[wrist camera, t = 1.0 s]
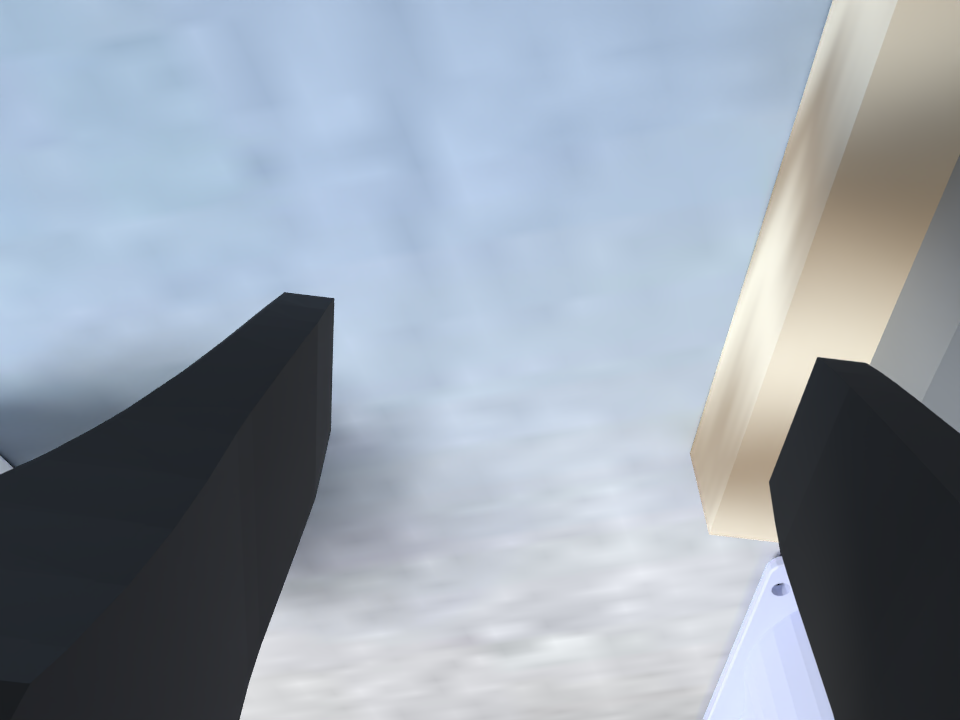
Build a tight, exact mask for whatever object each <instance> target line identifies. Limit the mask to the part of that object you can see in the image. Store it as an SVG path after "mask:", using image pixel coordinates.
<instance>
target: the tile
mask: <svg viewBox="0 0 960 720" xmlns="http://www.w3.org/2000/svg"><path fill="white" fill-rule="evenodd" d="M870 366H872V367H874V368H875V369H877V370H878V371H880V372H881V373H883V374H884V375H886V376H887V377H888V378H890V379H891V380H892V381H894V382H895V383H897V384H898V385H899V386H900V387H902V388H903V389H904V390H906V391H907V392H908V393H910V394H911V395H912V396H913V397H915V398H916V399H917V400H919V401H920V402H921V403H922V404H924V405H925V406H926V407H927V408H929V409H930V410H931V411H932V412H934V413H935V414H936V415H937V416H939V417H940V418H941V419H942V420H944V421H945V422H946V423H948V424H949V425H950V426H951V427H953V428H954V429H955V430H956V431H958V432H959V433H960V155H959V157H958V160H957V162H956V164H955V167H954V169H953V171H952V174H951V176H950V178H949V181H948V183H947V185H946V188H945V190H944V192H943V195H942V197H941V199H940V202H939V204H938V206H937V209H936V211H935V213H934V216H933V218H932V220H931V223H930V225H929V227H928V230H927V232H926V234H925V237H924V239H923V241H922V244H921V246H920V248H919V251H918V253H917V255H916V258H915V260H914V262H913V265H912V267H911V269H910V272H909V274H908V276H907V279H906V281H905V283H904V286H903V288H902V290H901V293H900V295H899V297H898V300H897V302H896V304H895V307H894V309H893V311H892V314H891V316H890V318H889V321H888V323H887V325H886V328H885V330H884V332H883V335H882V337H881V339H880V342H879V344H878V346H877V349H876V351H875V353H874V356H873V358H872V360H871V363H870Z"/></svg>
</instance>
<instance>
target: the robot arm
mask: <svg viewBox="0 0 960 720" xmlns="http://www.w3.org/2000/svg"><path fill="white" fill-rule="evenodd" d="M333 326H334V298H327V297H319V296H310V295H302V294H294V293H286V292H284V293H283V294H282V295H280V296H279V297H278V298H277V299H275V300H274V301H273V302H271V303H270V304H269V305H267V306H266V307H265V308H263V309H262V310H261V311H260V312H258V313H257V314H256V315H255V316H253V317H252V318H251V319H250V320H248V321H247V322H246V323H245V324H244V325H242V326H241V327H240V328H239V329H237V330H236V331H235V332H234V333H232V334H231V335H230V336H228V337H227V338H226V339H225V340H223V341H222V342H221V343H220V344H218V345H217V346H216V347H214V348H213V349H212V350H210V351H209V352H208V353H206V354H205V355H204V356H202V357H201V358H200V359H198V360H197V361H196V362H194V363H193V364H192V365H190V366H189V367H188V368H187V369H185V370H184V371H183V372H181V373H180V374H178V375H177V376H175V377H174V378H172V379H171V380H169V381H168V382H166V383H165V384H163V385H162V386H160V387H159V388H157V389H156V390H154V391H153V392H151V393H150V394H148V395H147V396H145V397H144V398H142V399H141V400H139V401H138V402H136V403H135V404H133V405H132V406H130V407H129V408H127V409H126V410H124V411H122V412H121V413H119V414H117V415H116V416H114V417H112V418H111V419H109V420H107V421H105V422H104V423H102V424H100V425H98V426H97V427H95V428H93V429H91V430H90V431H88V432H86V433H84V434H82V435H80V436H78V437H76V438H75V439H73V440H71V441H69V442H67V443H65V444H63V445H61V446H59V447H58V448H56V449H54V450H52V451H50V452H48V453H46V454H44V455H42V456H40V457H38V458H36V459H33V460H31V461H29V462H27V463H24V464H22V465H20V466H18V467H15V468H13V469H11V470H9V471H7V472H4V473H2V474H0V720H239V719H240V715H241V711H242V707H243V703H244V700H245V696H246V692H247V688H248V684H249V681H250V678H251V675H252V672H253V668H254V665H255V662H256V659H257V656H258V653H259V650H260V647H261V644H262V641H263V639H264V636H265V633H266V631H267V628H268V625H269V623H270V620H271V617H272V615H273V612H274V609H275V606H276V604H277V601H278V598H279V596H280V593H281V590H282V588H283V585H284V582H285V580H286V577H287V574H288V571H289V569H290V566H291V563H292V561H293V558H294V555H295V553H296V550H297V547H298V544H299V542H300V539H301V536H302V534H303V531H304V528H305V525H306V523H307V520H308V517H309V514H310V512H311V509H312V506H313V503H314V500H315V497H316V493H317V489H318V485H319V480H320V476H321V472H322V468H323V463H324V459H325V454H326V450H327V445H328V441H329V436H330V432H331V401H332V363H333ZM769 487H770V493H771V500H772V507H773V513H774V520H775V526H776V531H777V536H778V542H779V547H780V552H781V556H779V557H776V558H774V559H772V560H771V561H769V563H768V564H767V565H766V567H765V570H764V572H763V575H762V577H761V579H760V582H759V584H758V587H757V589H756V592H755V594H754V596H753V599H752V601H751V604H750V606H749V608H748V611H747V613H746V616H745V618H744V621H743V623H742V625H741V628H740V630H739V633H738V635H737V638H736V640H735V642H734V645H733V647H732V650H731V652H730V654H729V657H728V659H727V662H726V664H725V667H724V669H723V671H722V674H721V676H720V679H719V681H718V683H717V686H716V688H715V691H714V693H713V696H712V698H711V700H710V703H709V705H708V708H707V710H706V713H705V715H704V717H703V720H960V433H959V432H958V431H956V430H955V429H954V428H953V427H951V426H950V425H949V424H948V423H946V422H945V421H944V420H942V419H941V418H940V417H939V416H937V415H936V414H935V413H934V412H932V411H931V410H930V409H929V408H927V407H926V406H925V405H924V404H922V403H921V402H920V401H919V400H917V399H916V398H915V397H913V396H912V395H911V394H910V393H908V392H907V391H906V390H904V389H903V388H902V387H900V386H899V385H898V384H897V383H895V382H894V381H892V380H891V379H890V378H888V377H887V376H886V375H884V374H883V373H881V372H880V371H878V370H877V369H875V368H874V367H872V366H870V365H869V364H867V363H864V362H855V361H847V360H839V359H831V358H822V357H817V359H816V362H815V364H814V367H813V369H812V372H811V374H810V377H809V380H808V382H807V385H806V387H805V390H804V393H803V395H802V398H801V400H800V403H799V405H798V408H797V411H796V413H795V416H794V418H793V421H792V424H791V426H790V429H789V431H788V434H787V436H786V439H785V442H784V444H783V447H782V449H781V452H780V455H779V457H778V460H777V462H776V465H775V467H774V470H773V473H772V475H771V478H770V480H769ZM779 583H784V584H781V585H776V584H779Z"/></svg>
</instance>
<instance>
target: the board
mask: <svg viewBox="0 0 960 720" xmlns="http://www.w3.org/2000/svg"><path fill="white" fill-rule="evenodd" d="M959 155H960V0H833V1H832V4H831V7H830V11H829V14H828V17H827V20H826V23H825V26H824V30H823V33H822V36H821V39H820V42H819V45H818V49H817V52H816V55H815V58H814V61H813V64H812V68H811V71H810V74H809V77H808V80H807V84H806V87H805V90H804V93H803V96H802V99H801V103H800V106H799V109H798V112H797V115H796V118H795V122H794V125H793V128H792V131H791V134H790V138H789V141H788V144H787V147H786V150H785V153H784V157H783V160H782V163H781V166H780V169H779V172H778V176H777V179H776V182H775V185H774V188H773V191H772V195H771V198H770V201H769V204H768V207H767V211H766V214H765V217H764V220H763V223H762V226H761V230H760V233H759V236H758V239H757V242H756V245H755V249H754V252H753V255H752V258H751V261H750V265H749V268H748V271H747V274H746V277H745V280H744V284H743V287H742V290H741V293H740V296H739V299H738V303H737V306H736V309H735V312H734V315H733V318H732V322H731V325H730V328H729V331H728V334H727V338H726V341H725V344H724V347H723V350H722V353H721V357H720V360H719V363H718V366H717V369H716V372H715V376H714V379H713V382H712V385H711V388H710V392H709V395H708V398H707V401H706V404H705V407H704V411H703V414H702V417H701V420H700V423H699V426H698V430H697V433H696V436H695V439H694V442H693V445H692V449H691V452H690V455H691V459H692V464H693V468H694V472H695V476H696V481H697V485H698V489H699V493H700V498H701V502H702V506H703V511H704V515H705V519H706V523H707V528H708V532H709V535H718V536H726V537H735V538H744V539H752V540H761V541H770V542H778V536H777V531H776V526H775V520H774V513H773V507H772V500H771V493H770V487H769V480H770V478H771V475H772V473H773V470H774V467H775V465H776V462H777V460H778V457H779V455H780V452H781V449H782V447H783V444H784V442H785V439H786V436H787V434H788V431H789V429H790V426H791V424H792V421H793V418H794V416H795V413H796V411H797V408H798V405H799V403H800V400H801V398H802V395H803V393H804V390H805V387H806V385H807V382H808V380H809V377H810V374H811V372H812V369H813V367H814V364H815V362H816V359H817V357H822V358H831V359H839V360H847V361H855V362H864V363H867V364H869V365H870V363H871V360H872V358H873V356H874V353H875V351H876V349H877V346H878V344H879V342H880V339H881V337H882V335H883V332H884V330H885V328H886V325H887V323H888V321H889V318H890V316H891V314H892V311H893V309H894V307H895V304H896V302H897V300H898V297H899V295H900V293H901V290H902V288H903V286H904V283H905V281H906V279H907V276H908V274H909V272H910V269H911V267H912V265H913V262H914V260H915V258H916V255H917V253H918V251H919V248H920V246H921V244H922V241H923V239H924V237H925V234H926V232H927V230H928V227H929V225H930V223H931V220H932V218H933V216H934V213H935V211H936V209H937V206H938V204H939V202H940V199H941V197H942V195H943V192H944V190H945V188H946V185H947V183H948V181H949V178H950V176H951V174H952V171H953V169H954V167H955V164H956V162H957V160H958V157H959ZM778 543H779V542H778Z"/></svg>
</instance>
